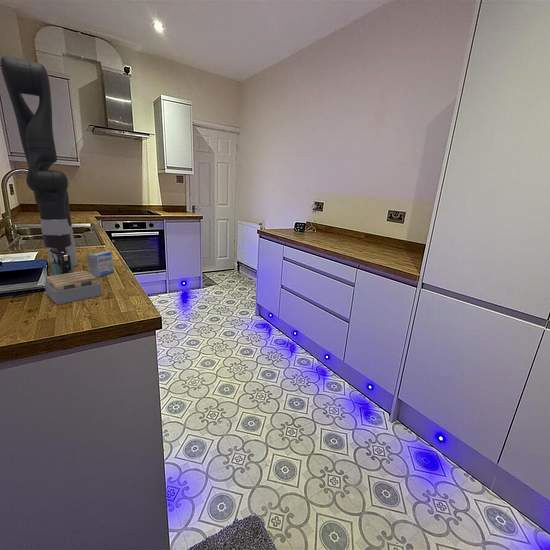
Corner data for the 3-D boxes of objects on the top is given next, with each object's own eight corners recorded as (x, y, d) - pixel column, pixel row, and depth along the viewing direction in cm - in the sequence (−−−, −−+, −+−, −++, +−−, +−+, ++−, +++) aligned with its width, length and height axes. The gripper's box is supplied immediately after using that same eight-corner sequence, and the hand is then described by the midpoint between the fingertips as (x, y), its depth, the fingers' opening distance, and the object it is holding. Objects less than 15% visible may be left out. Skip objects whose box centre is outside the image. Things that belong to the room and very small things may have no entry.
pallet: (46, 282, 91) (45, 276, 90) (86, 276, 99) (85, 270, 98) (56, 291, 84) (55, 284, 83) (98, 283, 92) (97, 277, 92)
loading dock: (46, 294, 92) (44, 282, 91) (88, 286, 101) (87, 275, 100) (57, 304, 84) (55, 292, 83) (101, 295, 93) (100, 283, 92)
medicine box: (99, 277, 111) (96, 255, 109) (89, 276, 112) (86, 254, 110) (114, 272, 119) (112, 251, 116) (105, 271, 119) (102, 250, 117)
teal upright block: (54, 283, 102) (50, 261, 99) (70, 280, 105) (67, 259, 103) (58, 287, 98) (54, 264, 96) (75, 284, 102) (71, 262, 100)
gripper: (37, 230, 98) (45, 277, 103) (48, 236, 90) (57, 287, 94) (63, 229, 104) (70, 274, 109) (76, 234, 95) (83, 283, 100)
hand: (64, 280), depth 101 cm, fingers closed on teal upright block, 5 cm apart
